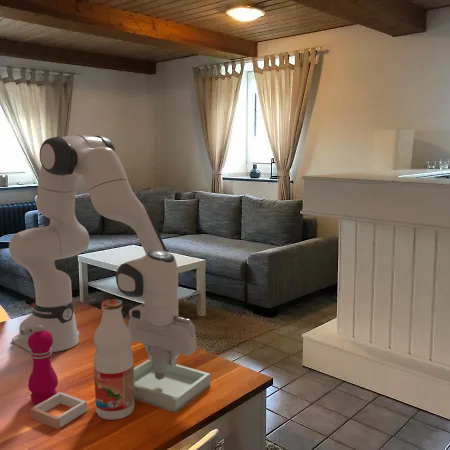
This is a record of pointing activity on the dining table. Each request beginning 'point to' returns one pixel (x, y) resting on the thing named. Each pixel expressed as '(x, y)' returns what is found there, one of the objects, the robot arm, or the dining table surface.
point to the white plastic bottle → (113, 364)
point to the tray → (168, 385)
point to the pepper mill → (41, 366)
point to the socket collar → (57, 422)
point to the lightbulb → (160, 361)
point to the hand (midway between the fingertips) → (162, 362)
